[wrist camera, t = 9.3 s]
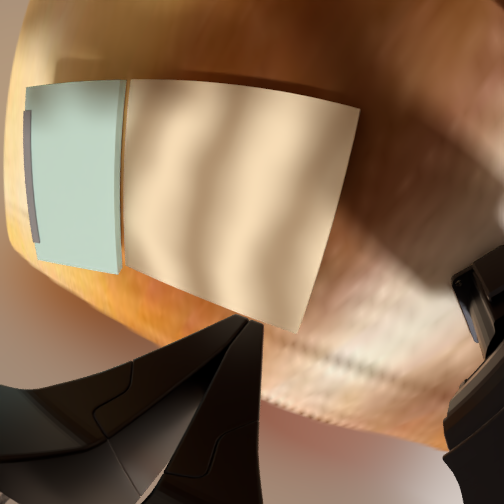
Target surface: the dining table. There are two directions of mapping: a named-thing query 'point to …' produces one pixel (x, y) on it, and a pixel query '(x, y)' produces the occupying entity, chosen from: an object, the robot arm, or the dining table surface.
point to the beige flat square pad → (233, 191)
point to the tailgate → (75, 172)
